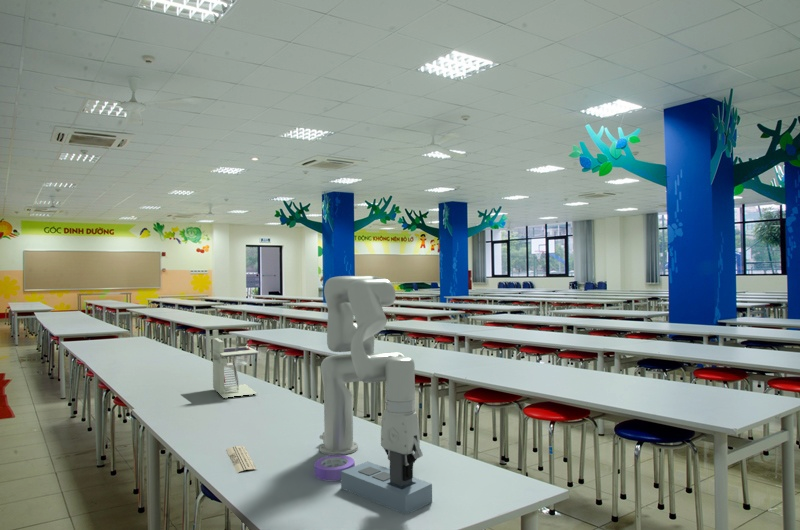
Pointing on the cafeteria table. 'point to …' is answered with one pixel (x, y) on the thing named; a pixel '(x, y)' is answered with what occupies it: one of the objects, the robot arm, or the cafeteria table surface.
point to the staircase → (221, 363)
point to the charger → (397, 469)
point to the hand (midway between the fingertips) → (401, 476)
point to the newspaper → (240, 458)
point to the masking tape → (332, 467)
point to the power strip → (386, 488)
